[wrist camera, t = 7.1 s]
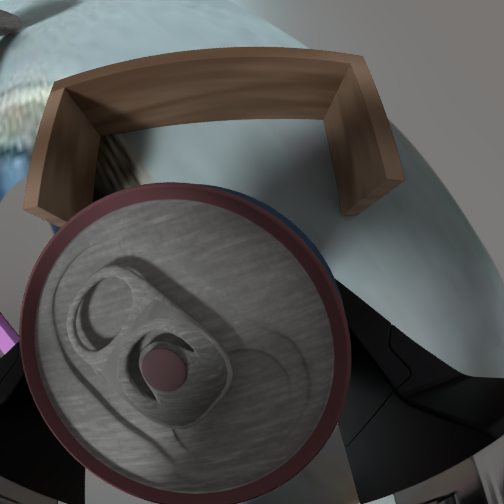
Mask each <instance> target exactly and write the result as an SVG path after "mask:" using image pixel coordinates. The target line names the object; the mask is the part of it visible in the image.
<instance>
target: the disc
mask: <svg viewBox="0 0 504 504" xmlns="http://www.w3.org/2000/svg"><path fill="white" fill-rule="evenodd" d="M21 26H22V21H21V19H19V18H18V17H17V16H15V15H13V14H12V13H9V12H6V11H3V10H0V36H4V35H7V34H10V33H14V32H16V31H17V30H19V29H20V28H21Z"/></svg>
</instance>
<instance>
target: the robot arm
mask: <svg viewBox="0 0 504 504" xmlns="http://www.w3.org/2000/svg"><path fill="white" fill-rule="evenodd" d="M334 279H335V278H334ZM335 281H336V284H337V286H338V289H339V292H340V295H341V298H342V302H343V306H344V311H345V316H346V319H347V324H348V329H349V334H350V343H351V375H350V382H349V388H348V393H347V397H346V401H345V404H344V407H343V410H342V413H341V415H340V418H339V420H338V425H339V428H340V432H341V435H342V439H343V442H344V446H345V448H346V449H345V450H346V453H347V457H348V461H349V464H350V468H351V471H352V475H353V479H354V483H355V486H356V490H357V494H358V498H359V501H360V504H364V503H367V502H371V501H374V500H377V499H380V498H383V497H386V496H388V495H391V494H394V497H395V502H396V504H504V378H487V377H473V376H468V375H465V374H462V373H460V372H458V371H457V370H455V369H453V368H452V367H450V366H449V365H448V364H446V363H445V362H443V361H442V360H440V359H439V358H437V357H436V356H434V355H433V354H431V353H430V352H428V351H427V350H426V349H424V348H423V347H421V346H420V345H418V344H417V343H416V342H414V341H413V340H412V339H410V338H409V337H408V336H406V335H405V334H404V333H403V332H401V331H400V330H399V329H398V328H396V327H395V326H394V325H391V323H390V322H389V321H388V320H386V319H385V318H384V317H383V316H382V315H380V314H379V313H378V312H377V311H375V310H374V309H373V308H372V307H370V306H369V305H368V304H367V303H365V302H364V301H363V300H362V299H360V298H359V297H358V296H357V295H355V294H354V293H353V292H352V291H350V290H349V289H348V288H346V287H345V286H344V285H343V284H341V283H340V282H339V281H338V280H336V279H335ZM58 501H61V502H64V503H67V504H85V467H84V466H83V465H82V464H81V463H79V462H78V461H77V460H76V459H75V458H74V457H73V456H72V455H71V454H70V453H69V452H68V451H67V450H66V449H65V448H64V447H63V445H62V444H61V443H60V442H59V441H58V439H57V438H56V437H55V435H54V434H53V433H52V431H51V430H50V428H49V427H48V425H47V424H46V422H45V421H44V419H43V417H42V415H41V414H40V412H39V410H38V408H37V406H36V404H35V402H34V399H33V397H32V394H31V392H30V389H29V386H28V383H27V380H26V377H25V373H24V369H23V364H22V358H21V350H20V340H19V342H17V343H16V344H15V345H14V346H13V347H12V348H11V349H10V350H9V351H8V352H7V353H6V354H5V355H4V356H3V357H2V358H1V359H0V504H58Z"/></svg>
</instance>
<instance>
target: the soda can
mask: <svg viewBox="0 0 504 504" xmlns="http://www.w3.org/2000/svg"><path fill="white" fill-rule="evenodd" d="M19 333H20V350H21V358H22V364H23V369H24V373H25V377H26V380H27V383H28V386H29V389H30V392H31V394H32V397H33V399H34V402H35V404H36V406H37V408H38V410H39V412H40V414H41V415H42V417H43V419H44V421H45V422H46V424H47V425H48V427H49V428H50V430H51V431H52V433H53V434H54V435H55V437H56V438H57V439H58V441H59V442H60V443H61V444H62V445H63V447H64V448H65V449H66V450H67V451H68V452H69V453H70V454H71V455H72V456H73V457H74V458H75V459H76V460H77V461H78V462H79V463H81V464H82V465H83V466H84V467H85V468H86V469H88V470H89V471H90V472H92V473H93V474H94V475H96V476H97V477H99V478H100V479H102V480H103V481H105V482H107V483H108V484H110V485H112V486H114V487H116V488H117V489H119V490H122V491H124V492H126V493H128V494H130V495H133V496H135V497H138V498H141V499H144V500H147V501H151V502H154V503H158V504H237V503H241V502H244V501H248V500H251V499H253V498H256V497H259V496H261V495H263V494H266V493H268V492H270V491H272V490H274V489H275V488H277V487H279V486H281V485H282V484H284V483H285V482H287V481H288V480H290V479H291V478H292V477H294V476H295V475H296V474H298V473H299V472H300V471H301V470H302V469H303V468H305V467H306V466H307V465H308V464H309V463H310V462H311V461H312V460H313V458H314V457H315V456H316V455H317V454H318V453H319V451H320V450H321V449H322V448H323V446H324V445H325V443H326V442H327V440H328V439H329V437H330V436H331V434H332V432H333V430H334V428H335V426H336V425H337V422H338V420H339V418H340V415H341V413H342V410H343V407H344V404H345V401H346V397H347V393H348V388H349V382H350V375H351V343H350V334H349V329H348V324H347V319H346V316H345V311H344V306H343V302H342V298H341V295H340V292H339V289H338V286H337V284H336V281H335V279H334V276H333V274H332V272H331V270H330V268H329V266H328V265H327V263H326V261H325V260H324V258H323V256H322V255H321V254H320V252H319V251H318V249H317V248H316V247H315V245H314V244H313V243H312V242H311V241H310V240H309V238H308V237H307V236H306V235H305V234H304V233H303V232H302V231H301V230H300V229H299V228H298V227H297V226H296V225H294V224H293V223H292V222H291V221H289V220H288V219H287V218H286V217H284V216H283V215H282V214H280V213H279V212H277V211H276V210H274V209H273V208H271V207H269V206H268V205H266V204H264V203H262V202H260V201H258V200H256V199H254V198H252V197H250V196H247V195H245V194H242V193H239V192H236V191H233V190H229V189H226V188H221V187H216V186H210V185H202V184H190V183H175V182H166V183H152V184H144V185H139V186H135V187H130V188H127V189H124V190H120V191H117V192H115V193H112V194H110V195H107V196H105V197H103V198H101V199H99V200H97V201H95V202H93V203H92V204H90V205H88V206H87V207H85V208H84V209H82V210H81V211H80V212H78V213H77V214H76V215H74V216H73V217H72V218H71V219H70V220H68V221H67V222H66V223H65V224H64V225H63V226H62V227H61V228H60V229H59V230H58V231H57V232H56V234H55V235H54V236H53V237H52V239H51V240H50V241H49V243H48V244H47V245H46V247H45V248H44V250H43V251H42V253H41V255H40V256H39V258H38V260H37V262H36V264H35V266H34V268H33V270H32V272H31V275H30V277H29V280H28V283H27V286H26V289H25V293H24V297H23V302H22V308H21V315H20V332H19Z"/></svg>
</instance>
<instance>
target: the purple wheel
mask: <svg viewBox="0 0 504 504" xmlns="http://www.w3.org/2000/svg"><path fill="white" fill-rule="evenodd" d="M19 340H20V336H19V335H18V334H17V333H16V331H15V330H14V329H13V328H12V326H11V325H10V324H9V323H8V321H7V320H6V319H5V318H4V316H3V315H2V313H1V312H0V350H1V351H2V352H3V353H4V355H5V354H6V353H7V352H8V351H9V350H10V349H11V348H12V347H13V346H14V345H15V344H16V343H17V342H19ZM0 359H1V357H0Z"/></svg>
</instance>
